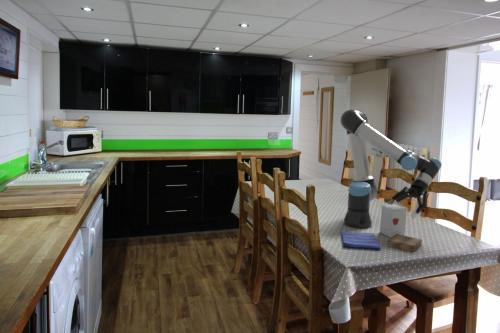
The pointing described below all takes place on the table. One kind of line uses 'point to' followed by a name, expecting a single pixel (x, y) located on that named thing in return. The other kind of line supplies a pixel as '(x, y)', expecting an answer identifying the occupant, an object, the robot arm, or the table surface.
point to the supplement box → (393, 220)
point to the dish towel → (359, 240)
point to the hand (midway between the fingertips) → (400, 214)
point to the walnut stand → (405, 242)
